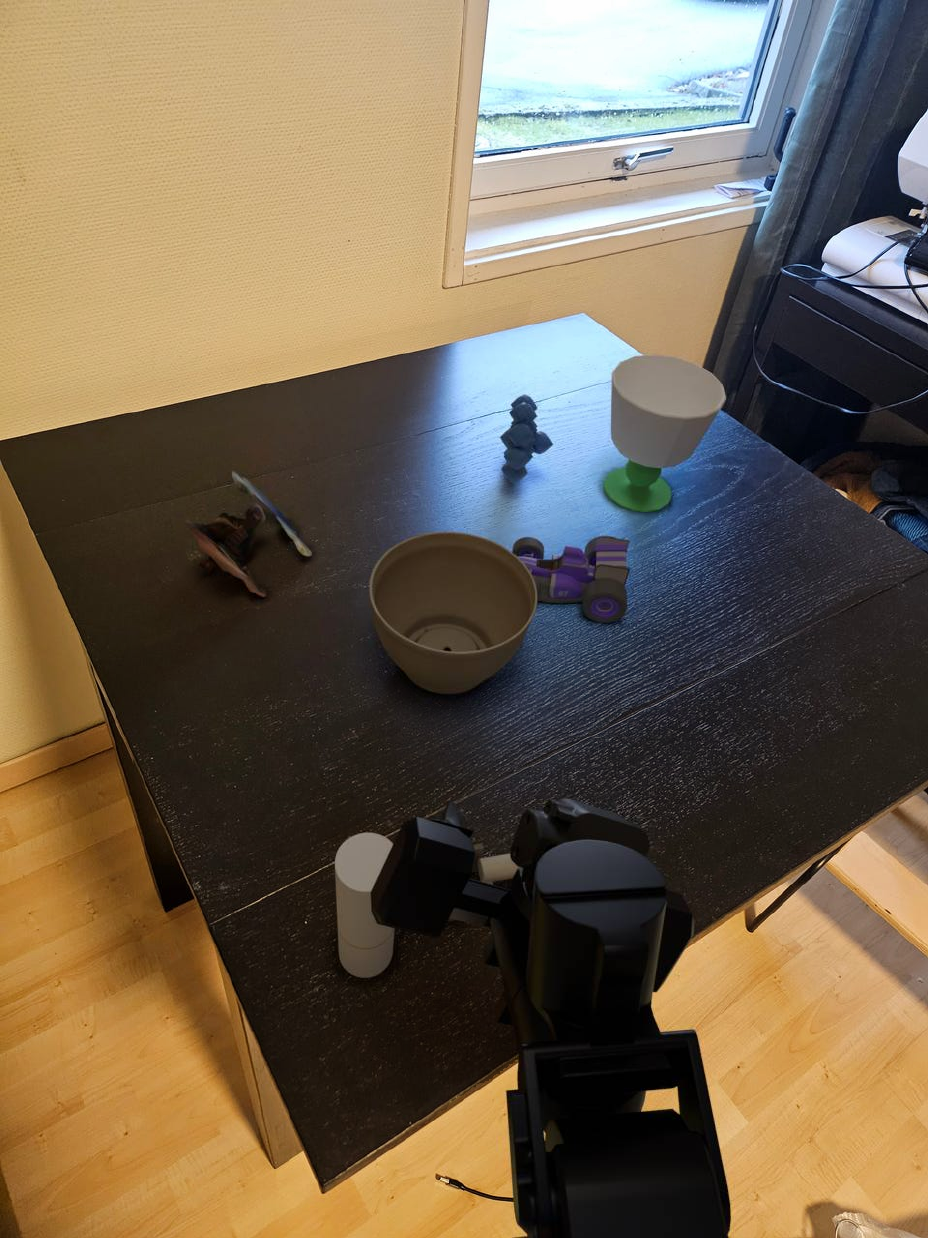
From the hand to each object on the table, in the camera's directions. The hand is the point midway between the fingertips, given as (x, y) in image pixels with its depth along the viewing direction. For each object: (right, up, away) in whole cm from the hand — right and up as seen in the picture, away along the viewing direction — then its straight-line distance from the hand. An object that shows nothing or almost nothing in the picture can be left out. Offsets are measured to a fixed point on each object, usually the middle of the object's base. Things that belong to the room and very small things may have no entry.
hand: (510, 825), depth 58 cm
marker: (+3, -7, +15) cm, 17 cm away
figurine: (-27, +21, +40) cm, 52 cm away
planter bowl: (-5, +9, +32) cm, 34 cm away
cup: (+20, +31, +55) cm, 66 cm away
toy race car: (+8, +17, +41) cm, 45 cm away
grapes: (+4, +32, +54) cm, 63 cm away
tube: (-11, -13, +11) cm, 20 cm away
